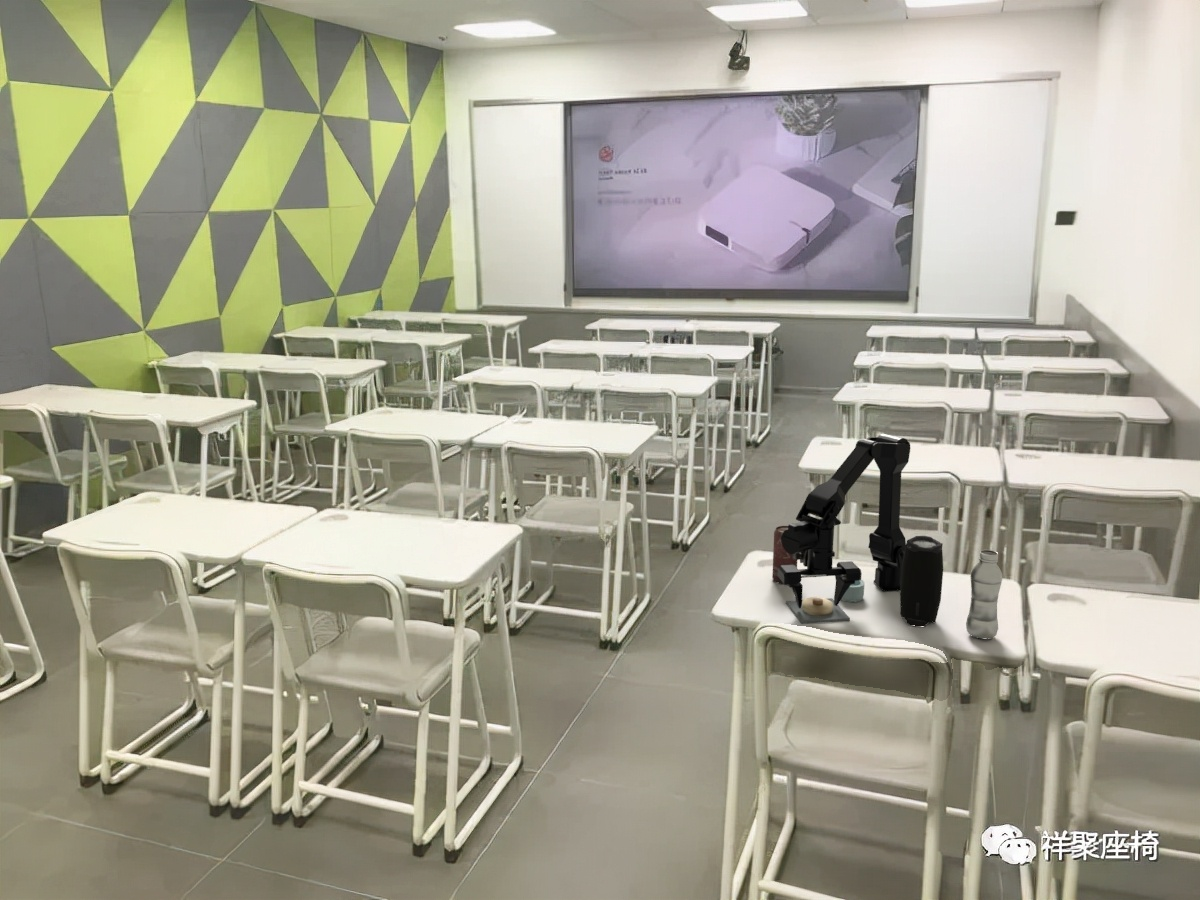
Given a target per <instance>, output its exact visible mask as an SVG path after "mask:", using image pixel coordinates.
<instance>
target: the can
mask: <svg viewBox="0 0 1200 900" xmlns="http://www.w3.org/2000/svg"><path fill="white" fill-rule="evenodd" d="M787 529H788V525H780V526H776V528H775V529H774V532H773V552H772V553H773V554H772V573H771V574H772V575H771V576H772V580H773V581H774V582H775V583H777V584H780V583H781V585H785V584H784V583H783V582H782V581H781V580H780V578H779V577H778V576H777V574H778V568H779V567H780V566H781V565H795V566H796V567H797V568H798V560H794V559H793V556H792V554H789V553H788V552H786V551H785V549H784V548H783V546H782V543H781V536H782V534H783V532H784V531H785V530H787Z"/></svg>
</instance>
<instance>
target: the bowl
mask: <svg viewBox="0 0 1200 900" xmlns="http://www.w3.org/2000/svg"><path fill="white" fill-rule="evenodd" d="M864 596H865V582H864V580H862V579H861V580H858V581H855V584H851V586H850V587H849V588H848V590H847V591H846V592H845V594H844V595H843V597H842V599H841V600H840V601H843V602H846V603H847V602H848V603H859V602H862V601H864Z"/></svg>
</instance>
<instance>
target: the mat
mask: <svg viewBox="0 0 1200 900" xmlns="http://www.w3.org/2000/svg"><path fill="white" fill-rule="evenodd" d="M827 599H828V600H830V601H831V602H832V603H833V612H832V613H831V614H829V615H825V616H815V615H810V614H807V613H805V612H804V611H803V610H802V605H801V608H799V607H798V605H797V602H796V600H786V601H785V604H786V606H787V607H788V608H789V609H790V611H791V612H792V613H793V614H794V616H795V617H796V619H797V620H798V621H799V622H800V623H801V624H802V625H804V624H818V623H834V622H850V621H851V617H850V616H849V615H848V614H847V613H846V612H845V611H844V610H843V609H842V608H841V606H839V604H838V605H837V606H835V605H834V598H832V597H831V598H829V597H828V598H827ZM803 600H804V599H802V601H803Z"/></svg>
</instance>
